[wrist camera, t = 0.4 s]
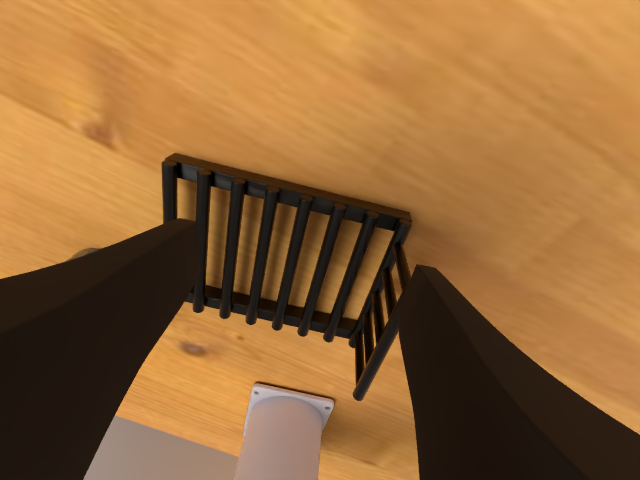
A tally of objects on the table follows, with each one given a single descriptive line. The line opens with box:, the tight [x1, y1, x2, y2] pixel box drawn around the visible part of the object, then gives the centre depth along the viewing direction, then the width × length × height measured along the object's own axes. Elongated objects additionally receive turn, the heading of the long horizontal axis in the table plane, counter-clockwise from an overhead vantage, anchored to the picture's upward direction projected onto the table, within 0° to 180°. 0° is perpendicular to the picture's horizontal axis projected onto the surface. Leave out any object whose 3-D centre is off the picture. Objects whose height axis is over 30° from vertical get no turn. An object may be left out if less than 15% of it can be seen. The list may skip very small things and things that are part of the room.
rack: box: [162, 153, 412, 401], centre depth 20 cm, size 11×15×7 cm
